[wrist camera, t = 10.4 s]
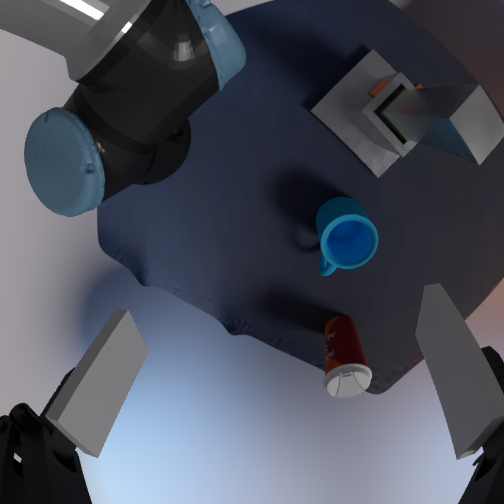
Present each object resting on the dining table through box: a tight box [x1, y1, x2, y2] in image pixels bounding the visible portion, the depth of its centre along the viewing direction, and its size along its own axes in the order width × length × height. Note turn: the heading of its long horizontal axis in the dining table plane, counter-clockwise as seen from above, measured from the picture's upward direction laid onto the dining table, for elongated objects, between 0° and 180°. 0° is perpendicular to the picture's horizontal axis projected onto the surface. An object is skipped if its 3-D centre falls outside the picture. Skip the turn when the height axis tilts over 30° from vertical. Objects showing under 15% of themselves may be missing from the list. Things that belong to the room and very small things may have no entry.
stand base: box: [310, 49, 423, 178], centre depth 32 cm, size 14×14×12 cm
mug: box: [316, 197, 378, 276], centre depth 43 cm, size 12×8×8 cm
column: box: [374, 85, 504, 165], centre depth 22 cm, size 4×4×19 cm
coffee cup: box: [323, 315, 372, 398], centre depth 49 cm, size 8×8×15 cm
